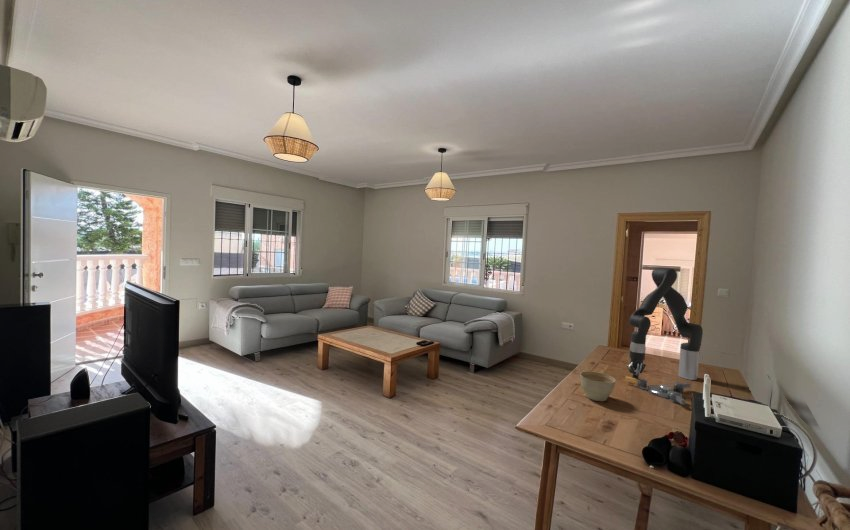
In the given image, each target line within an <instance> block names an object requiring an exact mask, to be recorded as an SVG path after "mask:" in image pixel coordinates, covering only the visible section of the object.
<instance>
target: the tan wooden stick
mask: <svg viewBox="0 0 850 530" xmlns="http://www.w3.org/2000/svg"><path fill="white" fill-rule="evenodd" d="M624 380H625V382H628V383H633V384H637V386H638V387H639V386H640V387H648V380H647V379H645V378H638V379H635V378H633V377H630V376H625V379H624Z"/></svg>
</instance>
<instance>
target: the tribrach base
mask: <svg viewBox="0 0 850 530" xmlns="http://www.w3.org/2000/svg"><path fill="white" fill-rule="evenodd" d="M638 388H639V389H642V390H645V391H648V393H650V394H652V395H654V396H656V397H659V398H662V399H666V400H667V399H668V400H669V401H670V402H671V403H677V404H678V403H679V402H678V401H674V400H671V399H670V398H669V397H670V391H674V392H678V393H680V394H681V395H680V397H681V398H683V391H678V390H675V389H674V388H672V387H671V386H670V385H668V384H662V383H660V384H659V385H657V384H656V385H655V384H654V385H649V386H648V385H647V387H640V386H638ZM679 404H680V403H679Z"/></svg>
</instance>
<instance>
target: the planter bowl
mask: <svg viewBox="0 0 850 530" xmlns="http://www.w3.org/2000/svg"><path fill="white" fill-rule="evenodd" d="M579 376H580V377H579V378H580V385H581V388H582V390H583V391H584V393H585V397H587V399H589V400H591V401H597V402H605V401H607V399H608V398H609V397H610V396H611V395H612V393H613V392H614V389H615V387H616V386H615V385H616V383H617V382H616V381H617V380H616V378H615V377H613V376H611V375H609V374H606V373H603V372H598V371H592V370H591V371H581V372H580V374H579Z"/></svg>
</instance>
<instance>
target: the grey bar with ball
mask: <svg viewBox="0 0 850 530" xmlns="http://www.w3.org/2000/svg"><path fill="white" fill-rule="evenodd" d="M689 388H691V383H690V382H678V381H674V382H673V389H675V390H678V391H682V392H684V389H689Z"/></svg>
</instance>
